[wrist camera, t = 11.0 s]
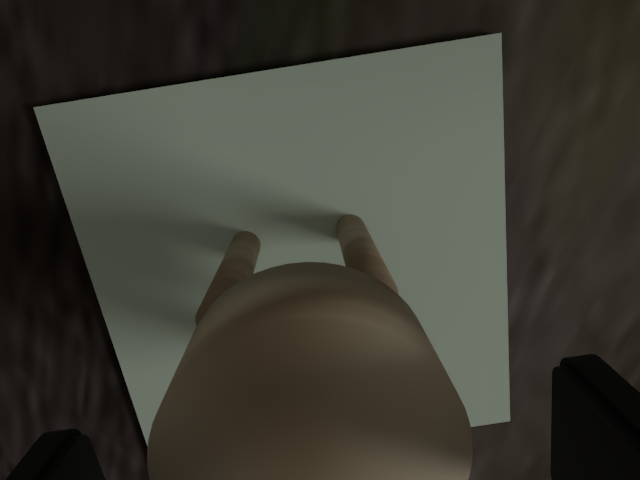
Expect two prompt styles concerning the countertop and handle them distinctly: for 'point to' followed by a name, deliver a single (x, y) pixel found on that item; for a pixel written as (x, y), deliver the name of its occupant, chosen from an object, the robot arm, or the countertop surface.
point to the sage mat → (298, 198)
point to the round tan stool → (309, 378)
